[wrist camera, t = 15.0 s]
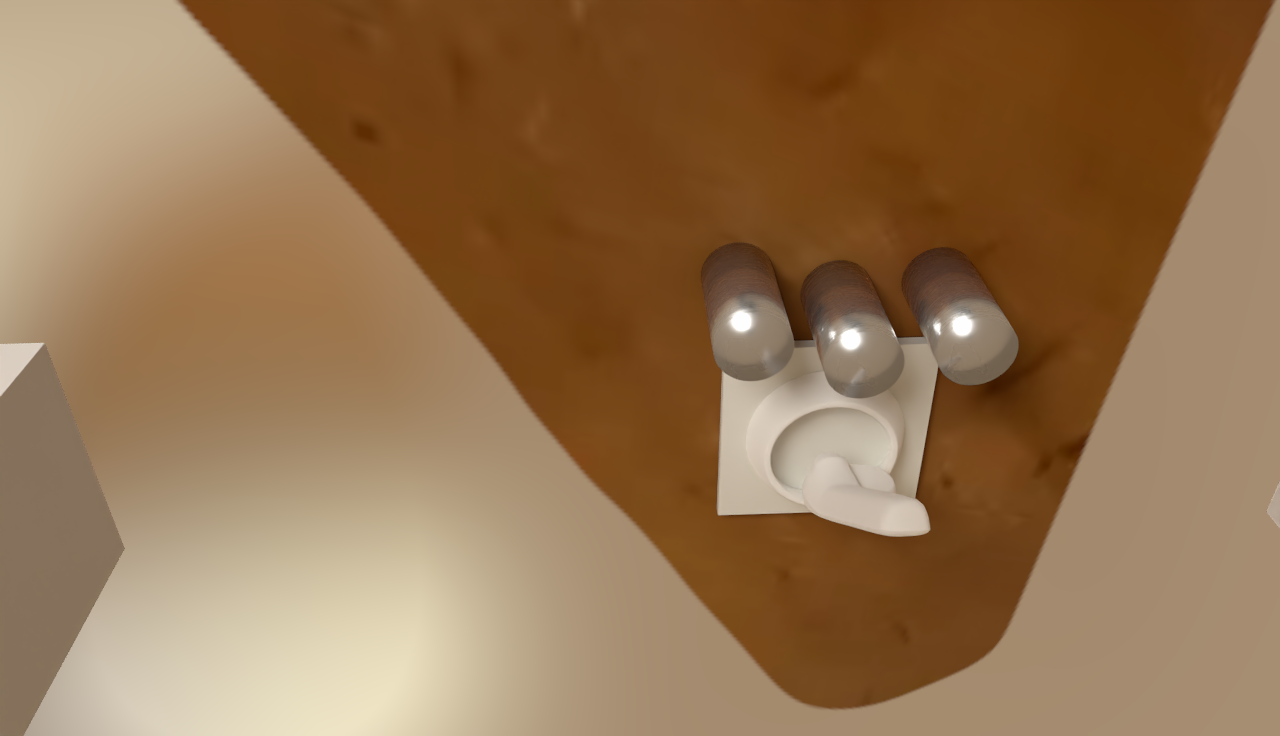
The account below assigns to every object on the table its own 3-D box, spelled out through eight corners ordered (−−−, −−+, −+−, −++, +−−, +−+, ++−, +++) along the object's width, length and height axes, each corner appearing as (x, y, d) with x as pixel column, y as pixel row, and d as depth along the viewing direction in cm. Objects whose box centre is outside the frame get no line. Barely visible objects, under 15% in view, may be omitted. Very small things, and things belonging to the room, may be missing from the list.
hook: (999, 354, 42) (1018, 527, 42) (867, 364, 54) (882, 500, 53) (826, 373, 40) (846, 554, 40) (728, 380, 52) (744, 520, 52)
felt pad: (723, 342, 48) (724, 349, 48) (938, 336, 48) (942, 343, 48) (716, 507, 54) (718, 515, 53) (910, 501, 54) (913, 509, 53)
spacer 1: (701, 243, 45) (714, 314, 40) (775, 241, 45) (797, 311, 40) (700, 307, 47) (712, 382, 42) (770, 305, 47) (791, 380, 42)
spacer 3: (906, 248, 46) (943, 318, 41) (979, 246, 46) (1025, 316, 41) (897, 311, 47) (932, 386, 42) (967, 309, 47) (1010, 384, 42)
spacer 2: (803, 261, 46) (828, 333, 41) (875, 259, 46) (909, 330, 41) (798, 323, 48) (821, 399, 43) (867, 321, 48) (899, 397, 43)
